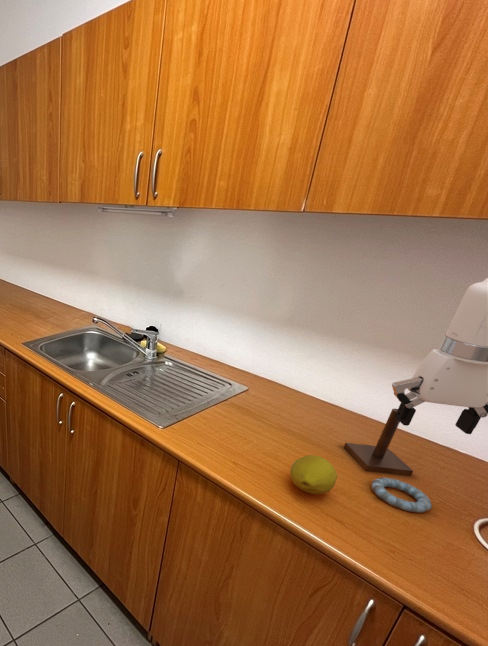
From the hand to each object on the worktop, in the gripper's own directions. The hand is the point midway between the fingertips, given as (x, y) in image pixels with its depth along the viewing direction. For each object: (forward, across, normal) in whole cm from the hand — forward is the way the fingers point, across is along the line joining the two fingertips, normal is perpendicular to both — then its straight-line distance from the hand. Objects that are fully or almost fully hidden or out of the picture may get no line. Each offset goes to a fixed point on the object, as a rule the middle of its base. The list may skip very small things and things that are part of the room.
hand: (431, 426), depth 80 cm
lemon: (+18, +18, +4) cm, 26 cm away
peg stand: (+18, -1, -12) cm, 21 cm away
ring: (+17, 0, +1) cm, 17 cm away
